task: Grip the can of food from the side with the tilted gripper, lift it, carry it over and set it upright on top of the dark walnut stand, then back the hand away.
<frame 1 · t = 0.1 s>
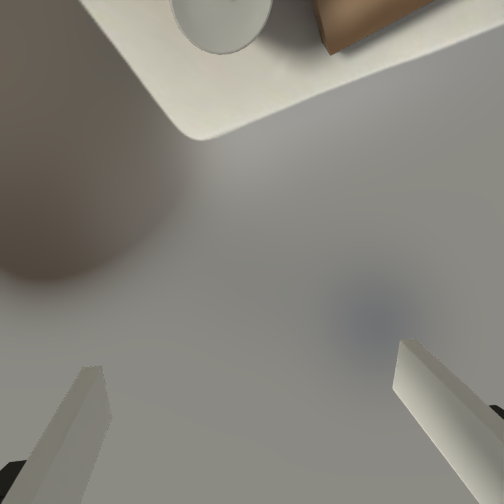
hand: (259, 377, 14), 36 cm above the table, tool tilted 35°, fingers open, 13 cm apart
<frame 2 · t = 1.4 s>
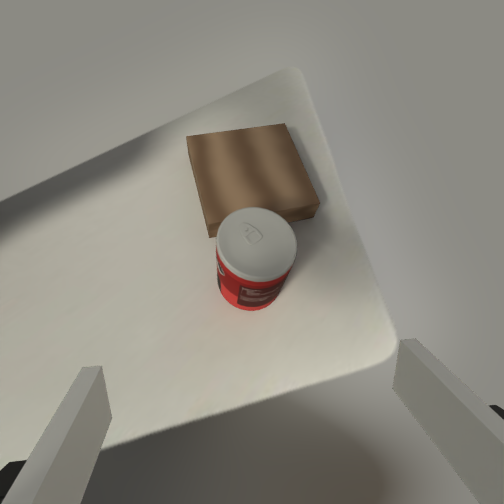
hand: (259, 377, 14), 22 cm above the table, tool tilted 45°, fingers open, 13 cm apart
canned food: (248, 282, 39), on the table
walnut stand: (248, 184, 46), on the table
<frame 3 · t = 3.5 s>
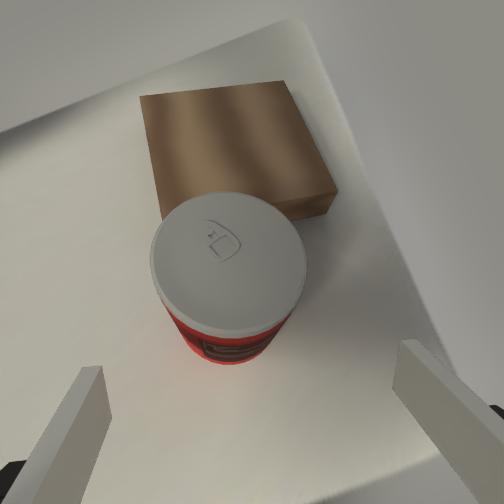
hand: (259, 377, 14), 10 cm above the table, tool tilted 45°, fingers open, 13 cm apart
canned food: (227, 315, 25), on the table
walnut stand: (232, 167, 32), on the table
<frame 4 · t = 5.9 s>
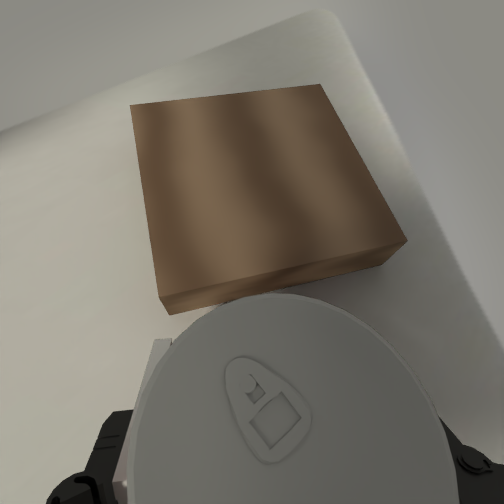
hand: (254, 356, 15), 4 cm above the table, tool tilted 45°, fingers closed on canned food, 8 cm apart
canned food: (254, 427, 17), on the table, touching gripper
walnut stand: (252, 198, 24), on the table
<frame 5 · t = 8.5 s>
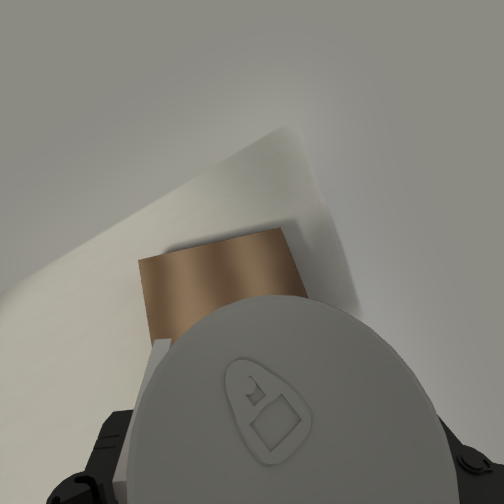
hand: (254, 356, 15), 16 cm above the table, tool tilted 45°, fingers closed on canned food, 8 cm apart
canned food: (254, 428, 17), point 12 cm above the table, touching gripper
walnut stand: (231, 320, 32), on the table
when the fingers open (9 cm above the table, at t = 11.1 s): canned food drops 1 cm, resting on walnut stand.
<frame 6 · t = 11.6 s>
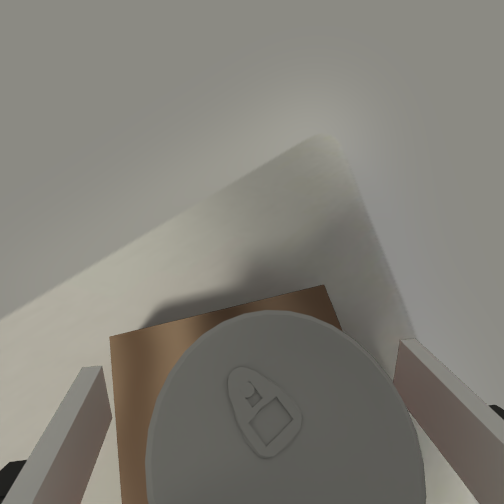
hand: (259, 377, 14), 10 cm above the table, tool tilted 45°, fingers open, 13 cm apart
canned food: (253, 427, 18), point 3 cm above the table, touching walnut stand
walnut stand: (248, 427, 21), on the table
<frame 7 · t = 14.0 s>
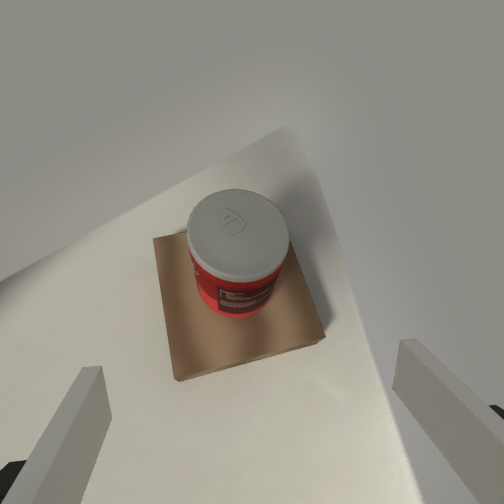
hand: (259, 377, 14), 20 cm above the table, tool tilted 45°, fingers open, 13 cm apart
canned food: (234, 284, 33), point 3 cm above the table, touching walnut stand
walnut stand: (233, 295, 36), on the table
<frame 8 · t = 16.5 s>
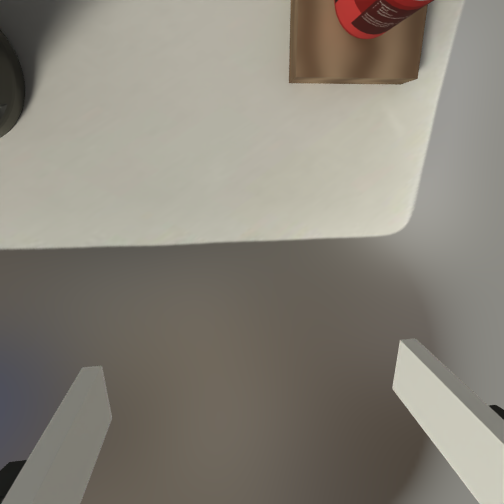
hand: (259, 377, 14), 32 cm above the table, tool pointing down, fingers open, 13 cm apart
canned food: (364, 1, 35), point 3 cm above the table, touching walnut stand
walnut stand: (351, 14, 38), on the table
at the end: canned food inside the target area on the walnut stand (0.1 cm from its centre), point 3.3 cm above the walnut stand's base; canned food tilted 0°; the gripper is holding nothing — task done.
